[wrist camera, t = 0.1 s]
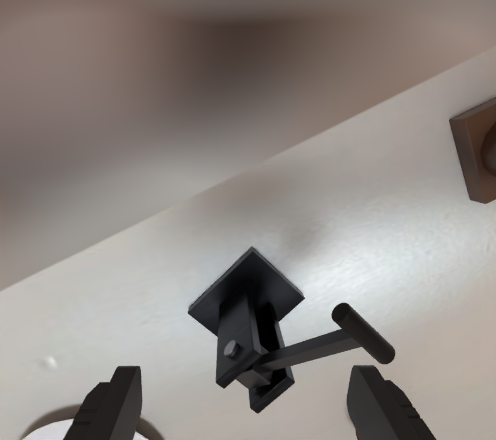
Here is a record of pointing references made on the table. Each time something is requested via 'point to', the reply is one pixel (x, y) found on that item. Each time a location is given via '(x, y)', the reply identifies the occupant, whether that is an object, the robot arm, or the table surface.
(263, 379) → the black lever
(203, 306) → the lever stand
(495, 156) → the control block
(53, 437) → the plate
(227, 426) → the table surface
